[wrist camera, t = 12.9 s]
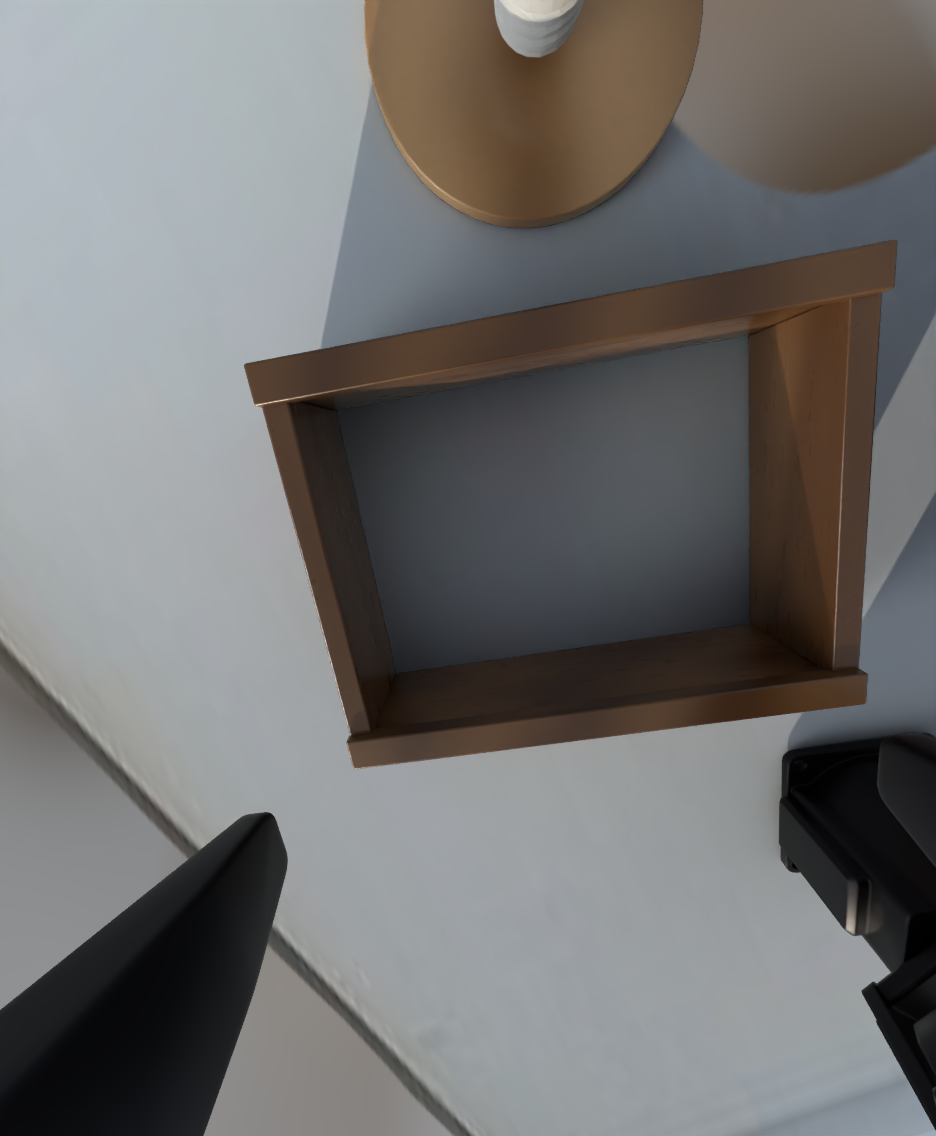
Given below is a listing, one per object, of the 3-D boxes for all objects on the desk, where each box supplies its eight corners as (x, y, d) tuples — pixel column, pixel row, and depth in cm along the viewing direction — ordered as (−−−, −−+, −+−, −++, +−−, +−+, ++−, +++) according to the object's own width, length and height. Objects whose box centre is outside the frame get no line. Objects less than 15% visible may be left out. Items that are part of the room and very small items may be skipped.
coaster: (688, -231, 12) (698, -264, 12) (700, 195, 15) (709, 185, 14) (334, -137, 13) (327, -165, 12) (404, 255, 15) (401, 248, 15)
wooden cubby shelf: (773, 301, 15) (899, 237, 11) (770, 641, 19) (867, 704, 14) (308, 387, 17) (241, 363, 12) (382, 694, 20) (353, 770, 15)
